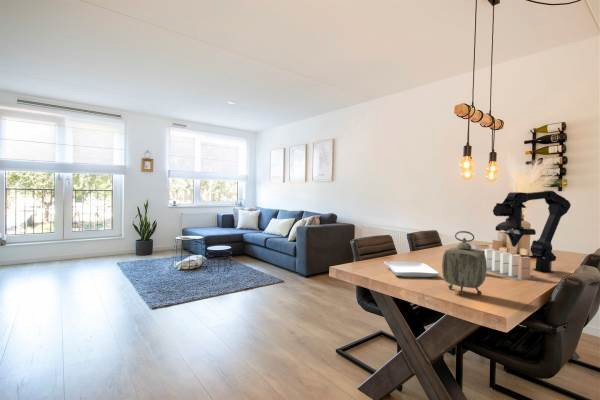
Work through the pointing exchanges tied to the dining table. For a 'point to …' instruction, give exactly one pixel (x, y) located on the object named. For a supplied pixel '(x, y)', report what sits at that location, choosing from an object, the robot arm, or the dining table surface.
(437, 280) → the dining table surface
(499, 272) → the mat
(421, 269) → the salad plate
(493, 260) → the domino
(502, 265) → the domino
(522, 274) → the domino
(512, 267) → the domino
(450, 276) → the tabletop clock
